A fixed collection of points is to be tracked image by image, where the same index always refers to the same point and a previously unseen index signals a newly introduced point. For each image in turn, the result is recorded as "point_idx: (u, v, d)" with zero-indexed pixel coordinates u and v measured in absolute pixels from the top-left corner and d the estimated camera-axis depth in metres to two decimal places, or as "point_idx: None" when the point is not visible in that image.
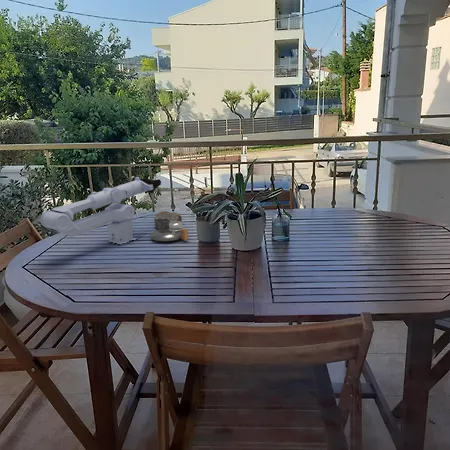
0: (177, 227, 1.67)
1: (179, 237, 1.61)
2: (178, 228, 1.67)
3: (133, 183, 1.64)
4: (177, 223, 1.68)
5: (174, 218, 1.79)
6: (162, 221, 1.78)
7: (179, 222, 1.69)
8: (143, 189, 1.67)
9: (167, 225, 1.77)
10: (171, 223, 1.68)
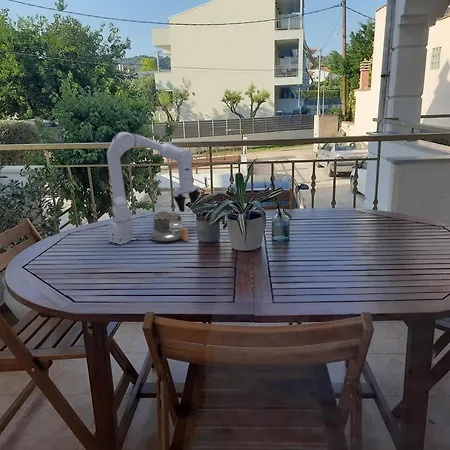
0: (177, 227, 1.67)
1: (179, 237, 1.61)
2: (178, 228, 1.67)
3: (187, 182, 1.68)
4: (177, 223, 1.68)
5: (173, 218, 1.79)
6: (161, 221, 1.78)
7: (179, 222, 1.69)
8: (180, 190, 1.70)
9: (166, 225, 1.77)
10: (171, 223, 1.68)
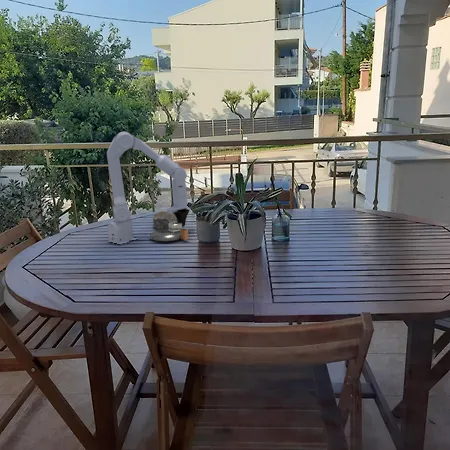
0: (177, 227, 1.66)
1: (179, 237, 1.61)
2: (177, 228, 1.67)
3: (181, 199, 1.66)
4: (176, 223, 1.68)
5: (173, 218, 1.79)
6: (161, 221, 1.78)
7: (178, 222, 1.69)
8: (174, 207, 1.68)
9: (166, 225, 1.77)
10: (170, 223, 1.68)
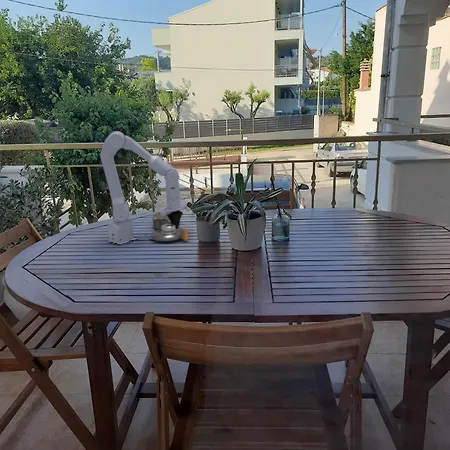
0: (170, 230, 1.63)
1: (179, 237, 1.61)
2: (171, 231, 1.64)
3: (174, 201, 1.63)
4: (170, 226, 1.65)
5: None
6: (160, 221, 1.78)
7: (172, 224, 1.66)
8: (167, 209, 1.65)
9: None
10: (164, 226, 1.65)
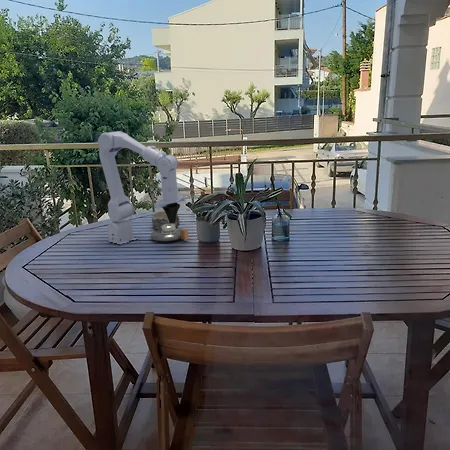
0: (170, 230, 1.63)
1: (179, 237, 1.61)
2: (171, 231, 1.64)
3: (171, 192, 1.48)
4: (170, 226, 1.65)
5: None
6: (160, 221, 1.78)
7: (172, 224, 1.66)
8: (163, 201, 1.50)
9: None
10: (164, 226, 1.65)
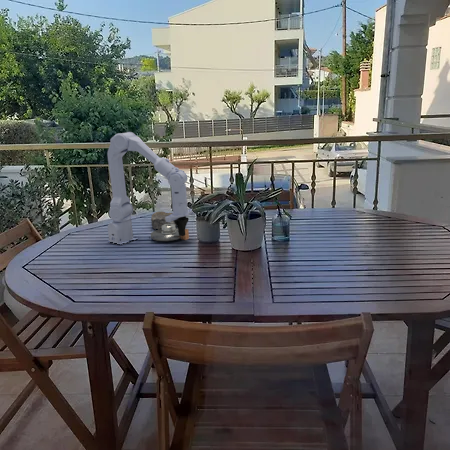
0: (170, 230, 1.63)
1: (179, 237, 1.61)
2: (171, 231, 1.64)
3: (181, 206, 1.54)
4: (170, 226, 1.65)
5: None
6: (159, 221, 1.78)
7: (172, 224, 1.66)
8: (173, 214, 1.56)
9: None
10: (164, 226, 1.65)
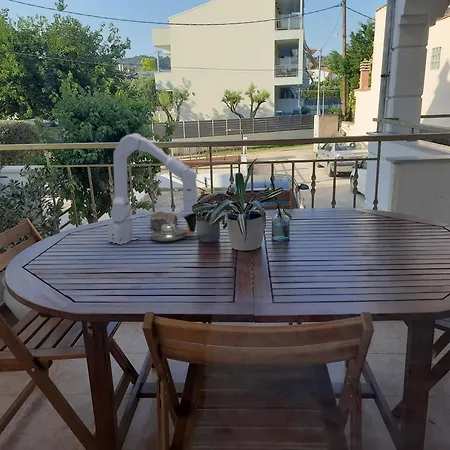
0: (174, 229, 1.65)
1: (186, 233, 1.66)
2: (174, 229, 1.65)
3: (192, 203, 1.58)
4: (171, 225, 1.65)
5: (170, 218, 1.79)
6: (158, 221, 1.77)
7: (170, 224, 1.67)
8: (184, 211, 1.60)
9: None
10: (165, 226, 1.64)
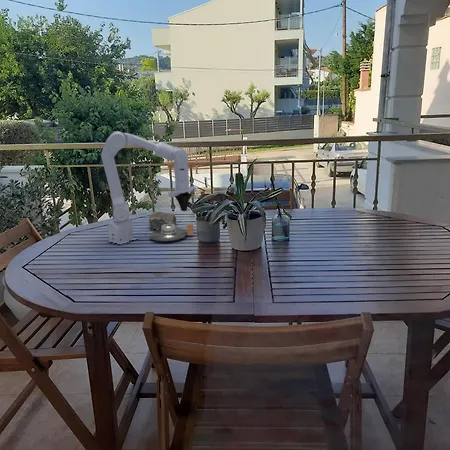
0: (174, 229, 1.65)
1: (186, 233, 1.66)
2: (174, 229, 1.65)
3: (183, 182, 1.63)
4: (171, 225, 1.65)
5: (169, 218, 1.78)
6: (157, 221, 1.77)
7: (170, 224, 1.67)
8: (175, 190, 1.65)
9: None
10: (165, 226, 1.64)
